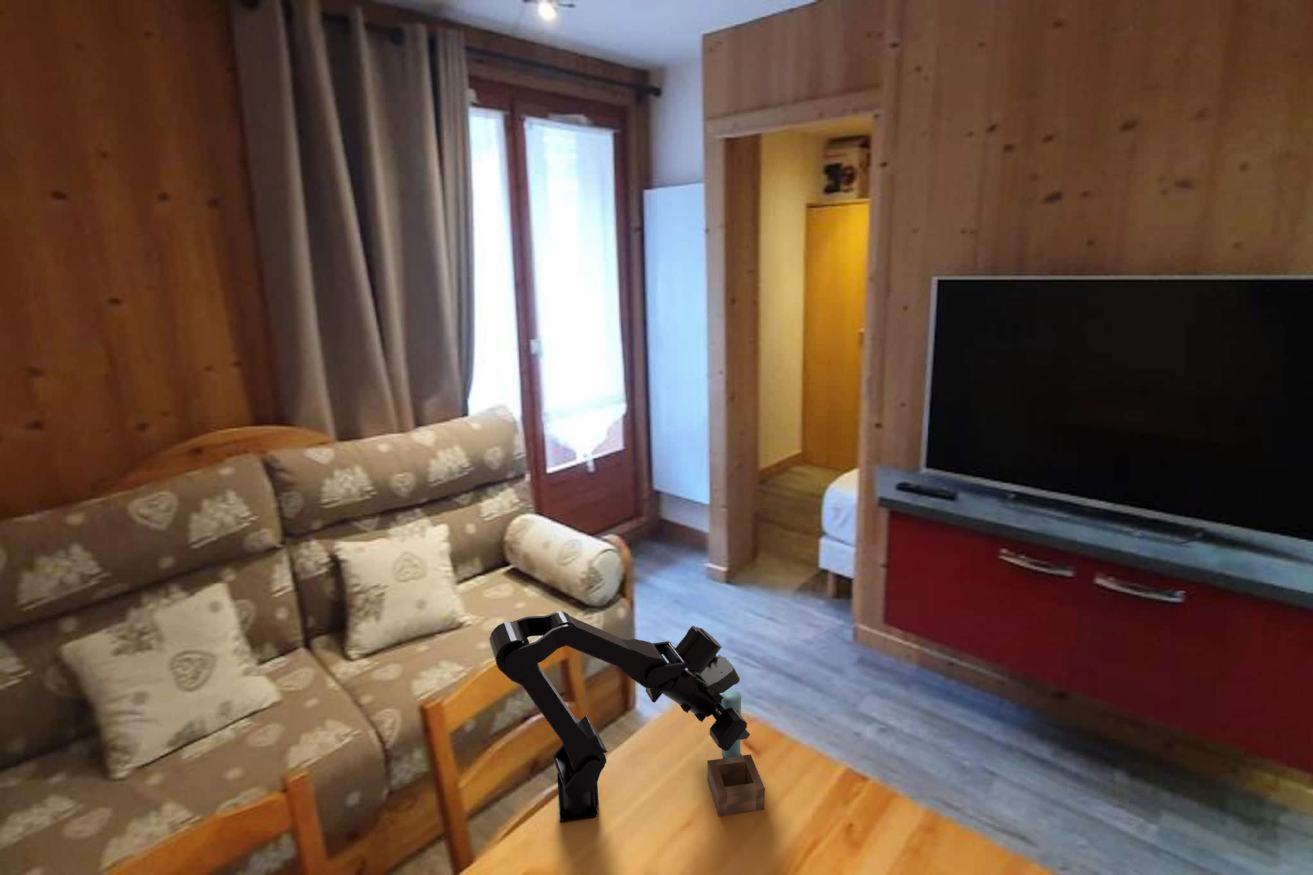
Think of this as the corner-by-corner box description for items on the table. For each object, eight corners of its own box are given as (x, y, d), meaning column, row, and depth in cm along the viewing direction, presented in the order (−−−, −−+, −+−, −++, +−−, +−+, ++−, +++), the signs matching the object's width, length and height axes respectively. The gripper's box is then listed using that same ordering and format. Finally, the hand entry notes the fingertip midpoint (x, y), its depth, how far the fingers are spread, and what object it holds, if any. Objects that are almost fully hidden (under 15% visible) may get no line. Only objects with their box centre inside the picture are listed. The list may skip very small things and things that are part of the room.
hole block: (718, 816, 116) (718, 795, 115) (707, 780, 124) (707, 760, 123) (764, 809, 117) (764, 788, 116) (750, 774, 125) (750, 754, 124)
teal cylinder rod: (724, 761, 128) (724, 703, 125) (719, 748, 132) (719, 691, 128) (742, 758, 129) (743, 700, 125) (737, 745, 132) (737, 688, 129)
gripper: (737, 682, 114) (790, 719, 121) (690, 627, 131) (740, 662, 138) (695, 734, 114) (752, 768, 121) (654, 672, 130) (705, 706, 137)
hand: (737, 722), depth 129 cm, fingers open, 8 cm apart
